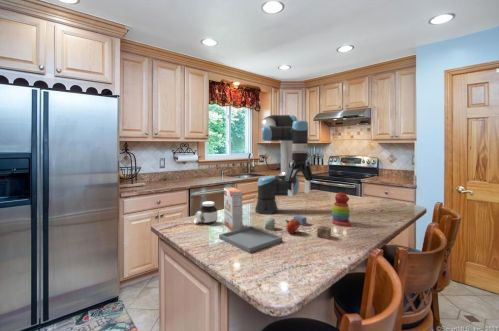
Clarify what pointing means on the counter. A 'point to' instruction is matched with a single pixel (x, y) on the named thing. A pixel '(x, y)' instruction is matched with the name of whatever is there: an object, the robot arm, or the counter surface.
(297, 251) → the counter surface
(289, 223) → the pomegranate
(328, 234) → the walnut block
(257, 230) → the tray
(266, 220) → the sage block
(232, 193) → the cracker box
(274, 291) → the counter surface
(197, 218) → the spread jar
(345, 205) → the stacking bear
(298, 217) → the lavender blue block
